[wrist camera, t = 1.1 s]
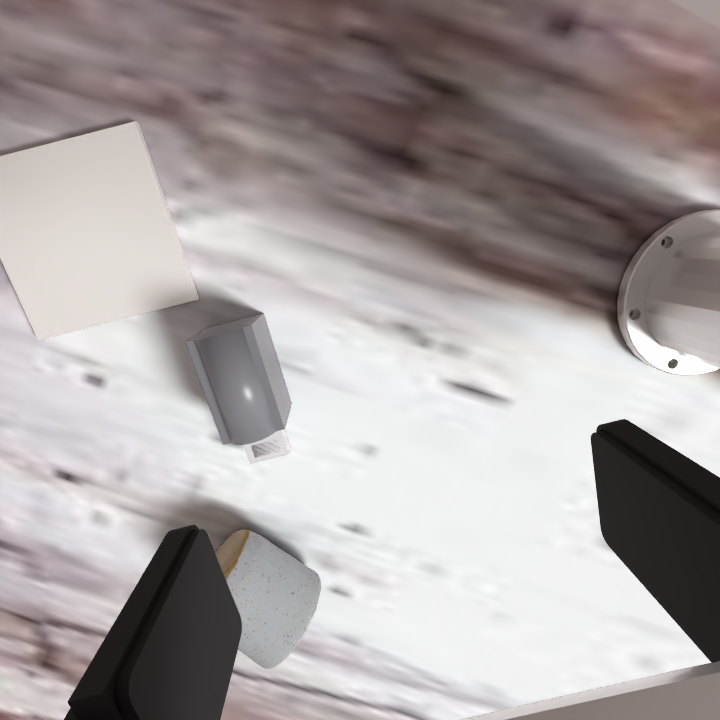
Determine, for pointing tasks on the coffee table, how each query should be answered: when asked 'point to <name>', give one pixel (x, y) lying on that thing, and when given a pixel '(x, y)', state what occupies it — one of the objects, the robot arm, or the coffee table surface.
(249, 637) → the ceramic mug
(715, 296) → the robot arm
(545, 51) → the coffee table surface
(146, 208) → the felt coaster
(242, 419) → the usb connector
